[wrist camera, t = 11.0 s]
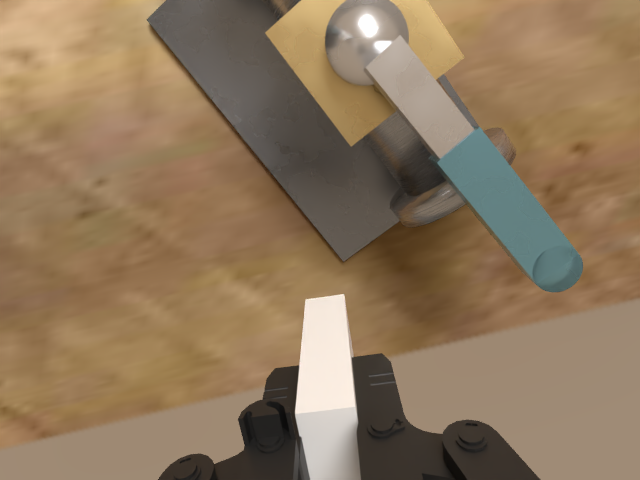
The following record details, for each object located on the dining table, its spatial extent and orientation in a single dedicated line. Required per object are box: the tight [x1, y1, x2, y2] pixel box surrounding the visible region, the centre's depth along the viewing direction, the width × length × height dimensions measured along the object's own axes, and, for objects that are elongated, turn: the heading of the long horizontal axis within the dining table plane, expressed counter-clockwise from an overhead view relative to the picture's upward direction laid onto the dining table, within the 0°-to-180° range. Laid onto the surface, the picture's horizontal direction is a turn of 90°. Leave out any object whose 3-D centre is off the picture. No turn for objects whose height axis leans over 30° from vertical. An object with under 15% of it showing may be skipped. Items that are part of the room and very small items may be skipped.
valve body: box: [147, 0, 516, 262], centre depth 30 cm, size 24×15×10 cm, turn 38°
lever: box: [325, 0, 583, 292], centre depth 24 cm, size 4×20×4 cm, turn 42°
